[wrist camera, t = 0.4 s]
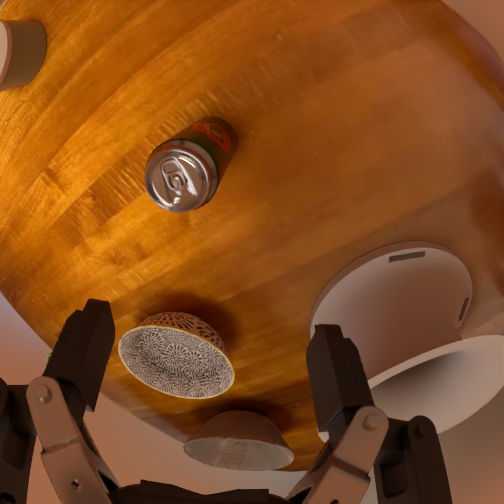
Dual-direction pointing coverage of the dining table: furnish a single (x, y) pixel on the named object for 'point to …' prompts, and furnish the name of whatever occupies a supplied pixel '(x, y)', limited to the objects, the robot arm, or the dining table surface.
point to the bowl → (177, 356)
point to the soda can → (190, 165)
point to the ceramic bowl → (239, 442)
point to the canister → (20, 52)
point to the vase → (414, 332)
